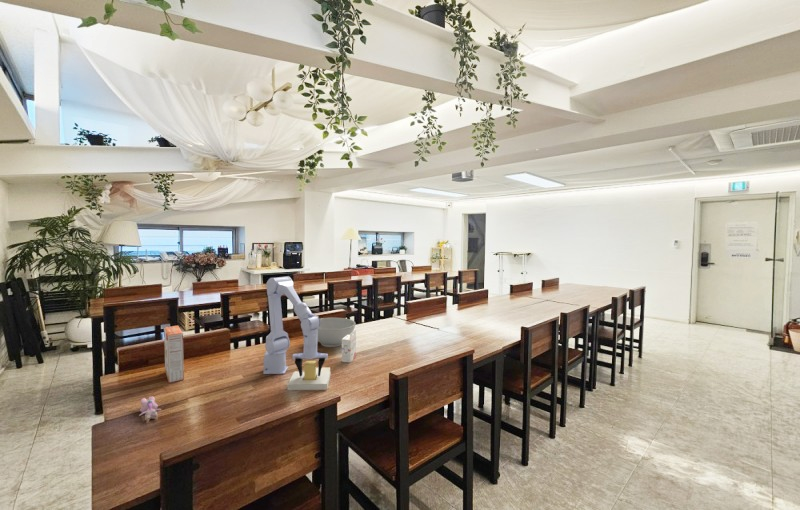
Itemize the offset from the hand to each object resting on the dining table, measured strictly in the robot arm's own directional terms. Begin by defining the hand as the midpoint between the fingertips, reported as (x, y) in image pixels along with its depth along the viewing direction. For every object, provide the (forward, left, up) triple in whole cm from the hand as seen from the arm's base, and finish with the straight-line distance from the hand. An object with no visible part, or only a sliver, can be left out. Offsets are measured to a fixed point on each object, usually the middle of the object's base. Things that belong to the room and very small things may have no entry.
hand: (310, 375), depth 149 cm
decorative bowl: (+4, +53, -4) cm, 53 cm away
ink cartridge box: (+15, +28, -4) cm, 32 cm away
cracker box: (-60, +9, -4) cm, 61 cm away
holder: (0, 0, -3) cm, 3 cm away
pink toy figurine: (-52, -23, -4) cm, 57 cm away
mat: (+3, +12, -3) cm, 13 cm away
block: (0, 0, -3) cm, 3 cm away
